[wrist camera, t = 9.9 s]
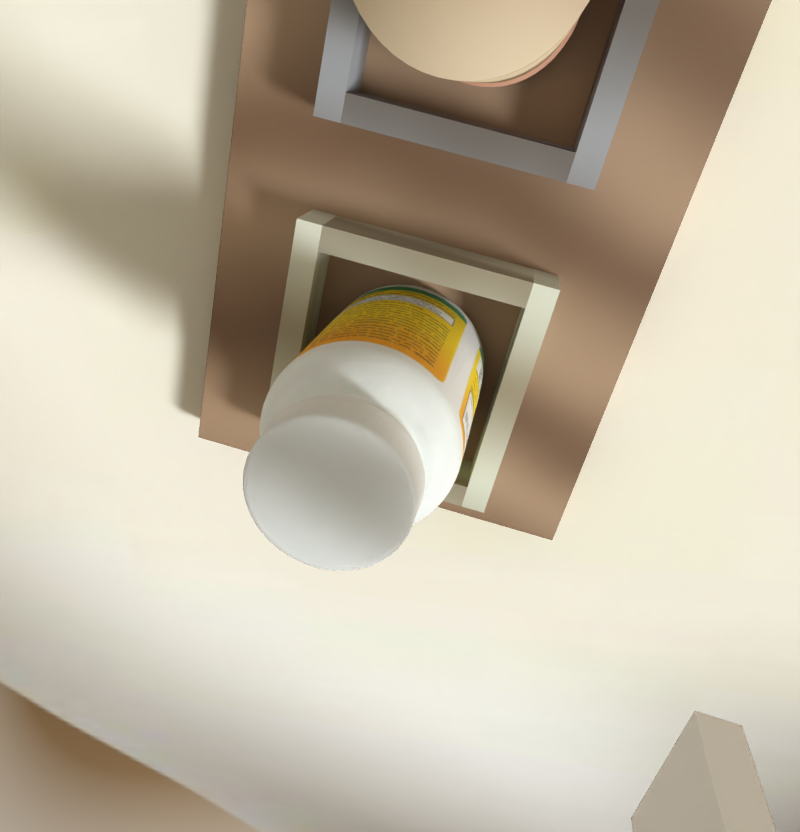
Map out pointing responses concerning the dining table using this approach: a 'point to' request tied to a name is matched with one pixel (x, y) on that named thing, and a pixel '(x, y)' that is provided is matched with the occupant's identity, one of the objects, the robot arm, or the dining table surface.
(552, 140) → the socket board
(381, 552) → the supplement bottle
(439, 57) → the beech dowel
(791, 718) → the dining table surface
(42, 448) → the dining table surface
